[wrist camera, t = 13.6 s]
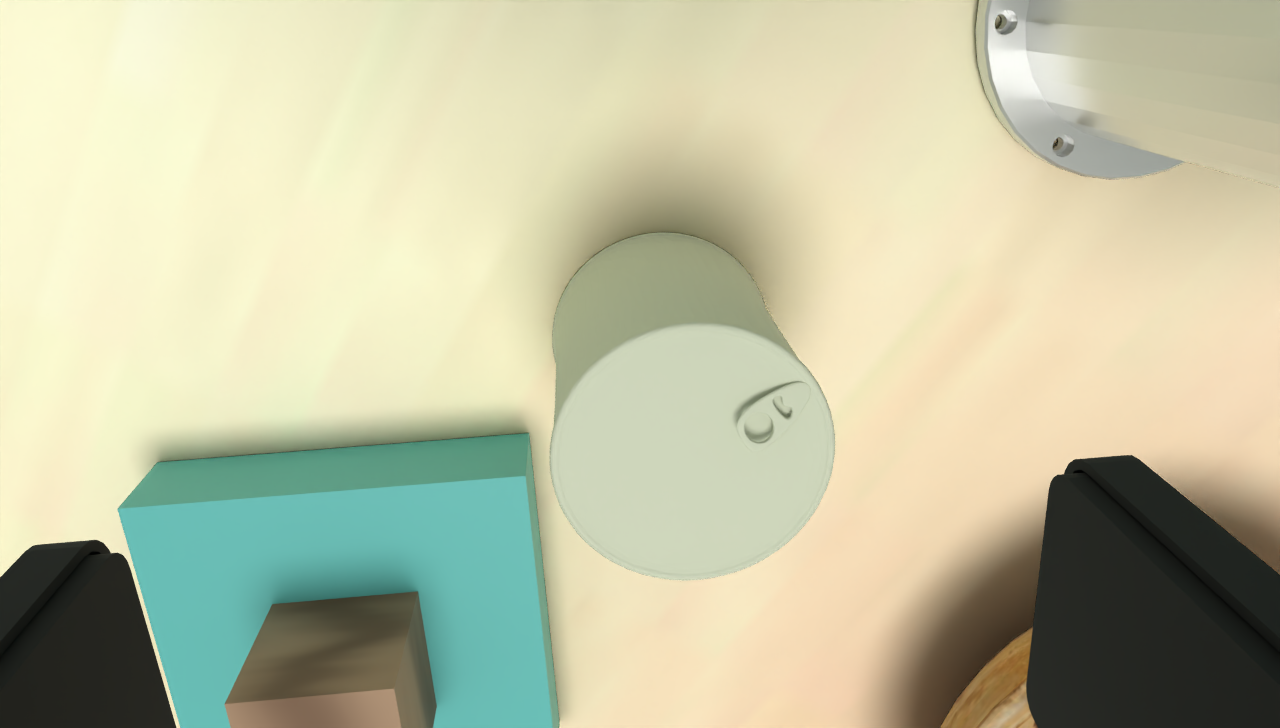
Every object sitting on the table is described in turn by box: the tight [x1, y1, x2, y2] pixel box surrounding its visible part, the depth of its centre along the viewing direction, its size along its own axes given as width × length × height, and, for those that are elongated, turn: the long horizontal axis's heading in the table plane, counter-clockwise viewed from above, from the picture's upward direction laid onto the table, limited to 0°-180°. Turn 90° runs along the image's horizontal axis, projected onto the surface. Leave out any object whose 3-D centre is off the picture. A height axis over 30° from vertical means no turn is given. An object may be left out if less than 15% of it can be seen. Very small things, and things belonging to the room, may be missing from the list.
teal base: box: [118, 433, 559, 728], centre depth 43 cm, size 16×16×4 cm
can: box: [550, 232, 835, 580], centre depth 36 cm, size 9×9×12 cm
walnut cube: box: [224, 591, 437, 728], centre depth 38 cm, size 6×6×6 cm
